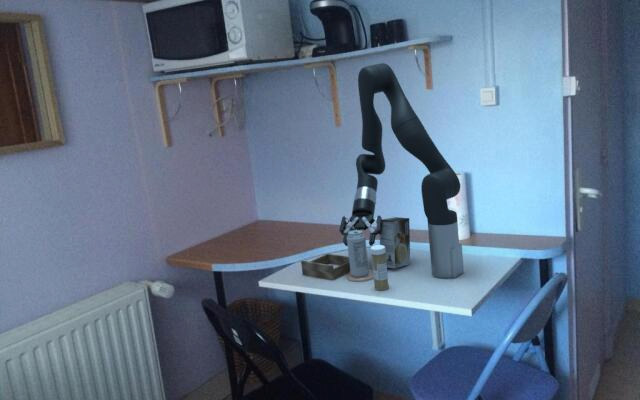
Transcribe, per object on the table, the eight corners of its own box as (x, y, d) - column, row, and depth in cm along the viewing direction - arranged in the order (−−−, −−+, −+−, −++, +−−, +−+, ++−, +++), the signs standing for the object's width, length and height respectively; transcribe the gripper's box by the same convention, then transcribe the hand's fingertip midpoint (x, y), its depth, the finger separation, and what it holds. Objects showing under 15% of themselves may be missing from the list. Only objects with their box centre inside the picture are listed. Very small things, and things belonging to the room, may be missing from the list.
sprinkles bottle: (373, 286, 175) (368, 245, 172) (387, 284, 175) (383, 243, 172) (376, 291, 170) (371, 249, 168) (390, 289, 171) (386, 247, 168)
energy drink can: (364, 271, 188) (359, 228, 185) (372, 275, 183) (367, 232, 180) (348, 275, 186) (343, 232, 183) (355, 280, 181) (350, 235, 178)
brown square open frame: (358, 267, 195) (357, 253, 194) (333, 280, 185) (331, 266, 184) (328, 262, 204) (327, 249, 203) (302, 274, 194) (301, 261, 193)
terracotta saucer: (382, 273, 186) (382, 271, 185) (364, 283, 178) (364, 281, 178) (358, 269, 192) (358, 268, 192) (340, 279, 185) (340, 277, 185)
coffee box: (395, 262, 196) (394, 216, 194) (410, 264, 191) (410, 218, 190) (379, 266, 189) (379, 219, 188) (395, 268, 185) (394, 220, 183)
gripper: (341, 198, 191) (334, 239, 183) (381, 196, 186) (376, 239, 178) (348, 209, 197) (341, 250, 189) (387, 208, 192) (382, 249, 183)
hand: (358, 244), depth 183 cm, fingers open, 8 cm apart
